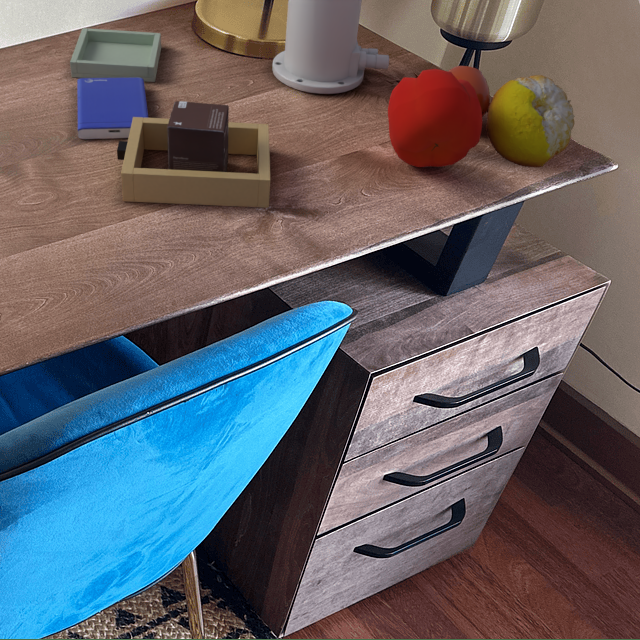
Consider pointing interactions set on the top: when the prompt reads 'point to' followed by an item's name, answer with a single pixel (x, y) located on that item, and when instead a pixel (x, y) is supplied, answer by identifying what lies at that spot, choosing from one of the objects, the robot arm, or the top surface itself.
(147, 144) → the tan rectangular bin
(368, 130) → the top surface
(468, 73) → the tomato
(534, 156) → the fruit
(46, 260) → the top surface
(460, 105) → the tomato
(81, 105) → the hard drive
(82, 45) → the tray
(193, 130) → the box
